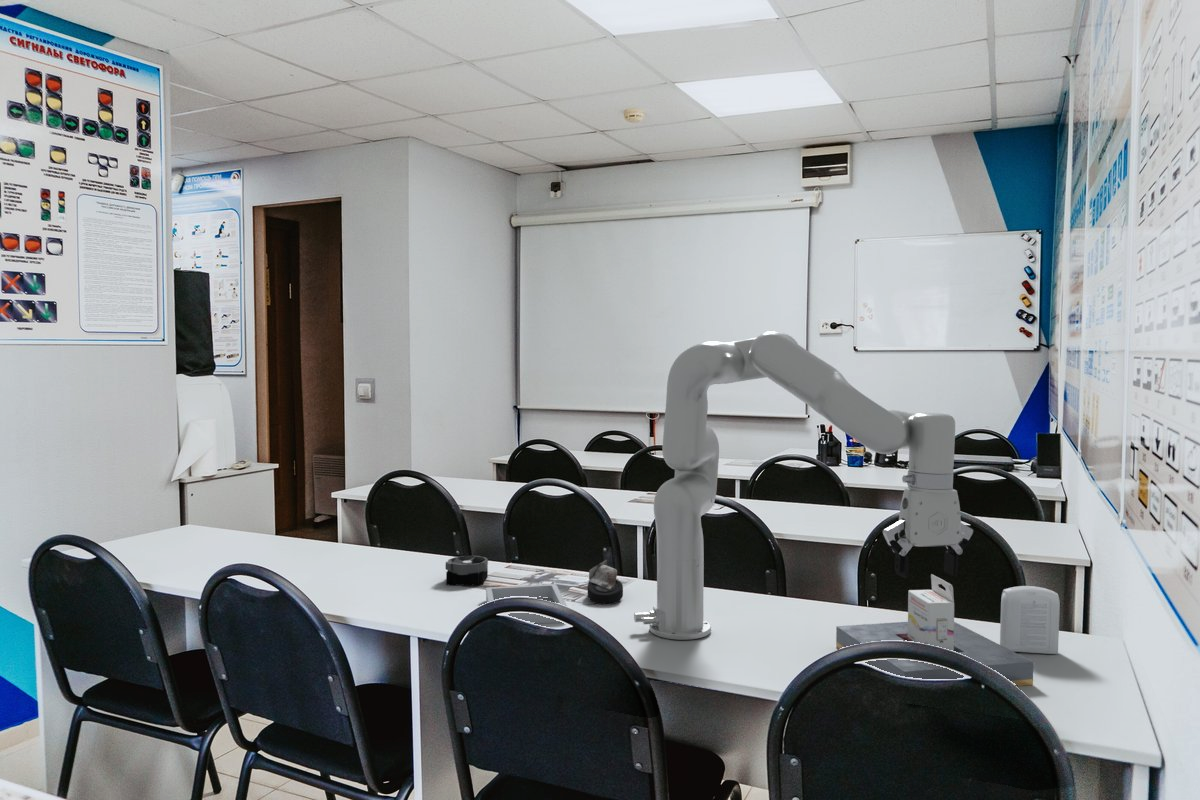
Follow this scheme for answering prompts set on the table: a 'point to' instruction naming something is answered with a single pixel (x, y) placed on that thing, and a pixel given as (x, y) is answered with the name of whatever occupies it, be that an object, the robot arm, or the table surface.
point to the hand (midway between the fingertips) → (926, 575)
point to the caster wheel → (604, 585)
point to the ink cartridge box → (932, 615)
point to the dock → (964, 643)
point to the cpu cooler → (467, 570)
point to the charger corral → (530, 591)
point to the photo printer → (1030, 620)
